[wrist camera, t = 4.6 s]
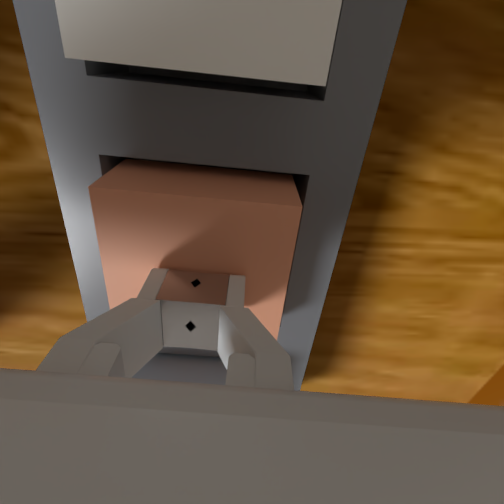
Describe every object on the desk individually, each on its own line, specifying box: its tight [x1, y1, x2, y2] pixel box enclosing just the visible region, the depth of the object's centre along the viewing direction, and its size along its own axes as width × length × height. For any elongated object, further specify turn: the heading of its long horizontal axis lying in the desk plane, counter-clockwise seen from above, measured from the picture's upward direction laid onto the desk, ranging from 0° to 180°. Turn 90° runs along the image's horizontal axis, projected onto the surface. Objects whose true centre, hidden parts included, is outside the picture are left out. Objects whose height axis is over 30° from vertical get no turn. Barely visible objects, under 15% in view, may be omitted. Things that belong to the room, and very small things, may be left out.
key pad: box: [13, 0, 407, 391], centre depth 14 cm, size 28×10×4 cm, turn 175°
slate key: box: [132, 353, 227, 385], centre depth 16 cm, size 6×6×3 cm
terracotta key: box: [88, 158, 302, 340], centre depth 12 cm, size 6×6×3 cm
